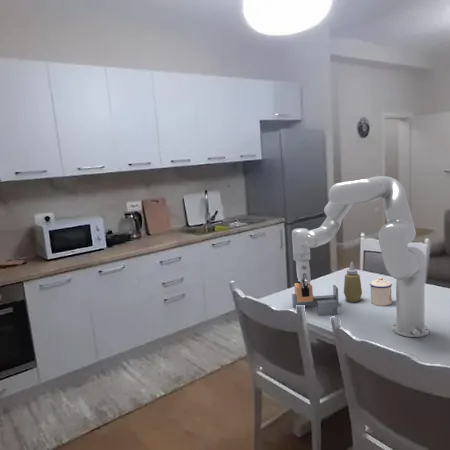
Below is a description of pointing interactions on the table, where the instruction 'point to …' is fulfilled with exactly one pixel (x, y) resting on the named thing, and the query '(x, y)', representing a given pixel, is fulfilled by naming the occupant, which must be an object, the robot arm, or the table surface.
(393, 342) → the table surface
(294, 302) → the rail
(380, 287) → the teacup with lid
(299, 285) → the block
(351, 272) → the squeeze bottle
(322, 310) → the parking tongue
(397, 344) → the table surface
